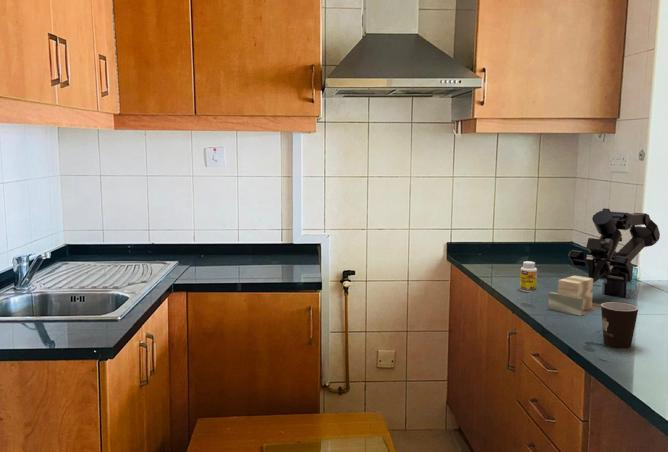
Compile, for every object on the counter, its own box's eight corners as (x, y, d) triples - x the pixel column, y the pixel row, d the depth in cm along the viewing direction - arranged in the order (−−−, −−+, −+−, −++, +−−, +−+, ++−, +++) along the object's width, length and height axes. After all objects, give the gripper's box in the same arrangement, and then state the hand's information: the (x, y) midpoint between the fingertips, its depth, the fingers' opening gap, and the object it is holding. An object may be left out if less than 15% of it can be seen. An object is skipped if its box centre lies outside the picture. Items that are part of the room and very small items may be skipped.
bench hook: (574, 304, 195) (575, 284, 194) (605, 310, 188) (606, 289, 187) (548, 313, 184) (548, 292, 183) (579, 320, 177) (581, 298, 176)
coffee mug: (637, 351, 150) (639, 312, 149) (599, 347, 154) (601, 309, 152) (633, 338, 161) (635, 301, 160) (597, 334, 164) (600, 298, 163)
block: (573, 303, 190) (574, 275, 189) (591, 307, 186) (593, 278, 185) (557, 309, 184) (558, 280, 182) (576, 313, 179) (577, 283, 178)
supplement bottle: (518, 291, 212) (519, 262, 211) (521, 288, 217) (522, 260, 216) (534, 293, 209) (535, 264, 208) (537, 290, 214) (539, 261, 213)
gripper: (571, 225, 198) (553, 263, 192) (630, 231, 184) (613, 272, 179) (582, 246, 204) (564, 283, 199) (640, 253, 191) (623, 294, 185)
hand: (590, 283), depth 190 cm, fingers closed
